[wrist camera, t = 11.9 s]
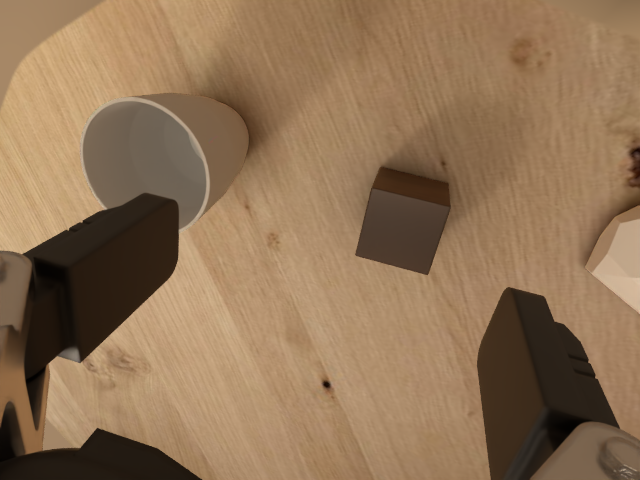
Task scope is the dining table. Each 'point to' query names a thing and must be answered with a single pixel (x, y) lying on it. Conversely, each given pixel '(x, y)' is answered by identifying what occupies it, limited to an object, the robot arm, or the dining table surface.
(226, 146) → the cup
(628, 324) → the dining table surface
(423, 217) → the walnut block
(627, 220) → the crystal
